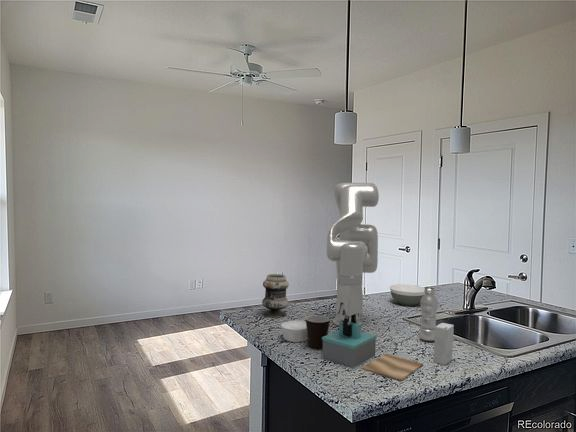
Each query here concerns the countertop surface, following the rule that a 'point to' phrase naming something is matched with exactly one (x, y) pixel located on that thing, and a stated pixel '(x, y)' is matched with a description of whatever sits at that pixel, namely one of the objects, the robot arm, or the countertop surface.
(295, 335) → the ramekin
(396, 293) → the bowl
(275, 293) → the apothecary jar
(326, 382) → the countertop surface
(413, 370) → the wooden board
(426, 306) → the plastic bottle
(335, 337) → the lid
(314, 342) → the coffee mug
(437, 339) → the skincare box
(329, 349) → the tub
